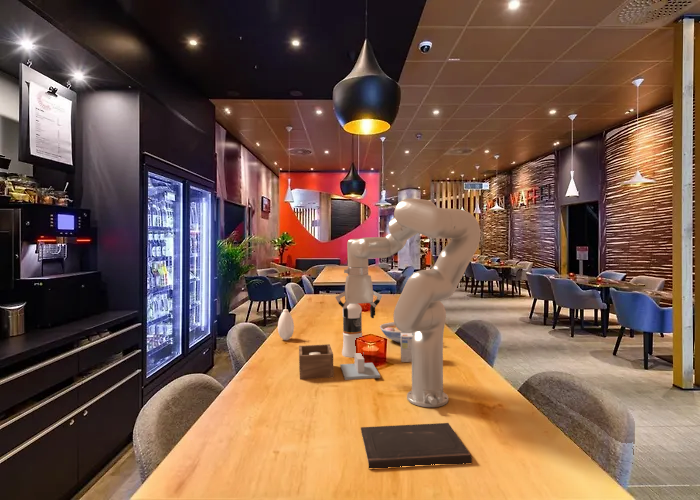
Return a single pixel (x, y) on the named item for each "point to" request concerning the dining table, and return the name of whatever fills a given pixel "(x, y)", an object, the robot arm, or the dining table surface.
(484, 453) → the dining table surface
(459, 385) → the dining table surface
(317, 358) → the walnut box
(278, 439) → the dining table surface
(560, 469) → the dining table surface
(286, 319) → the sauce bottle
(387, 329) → the ramen bowl
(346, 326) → the vodka
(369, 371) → the lid
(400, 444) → the hardcover book
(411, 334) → the light bulb box
